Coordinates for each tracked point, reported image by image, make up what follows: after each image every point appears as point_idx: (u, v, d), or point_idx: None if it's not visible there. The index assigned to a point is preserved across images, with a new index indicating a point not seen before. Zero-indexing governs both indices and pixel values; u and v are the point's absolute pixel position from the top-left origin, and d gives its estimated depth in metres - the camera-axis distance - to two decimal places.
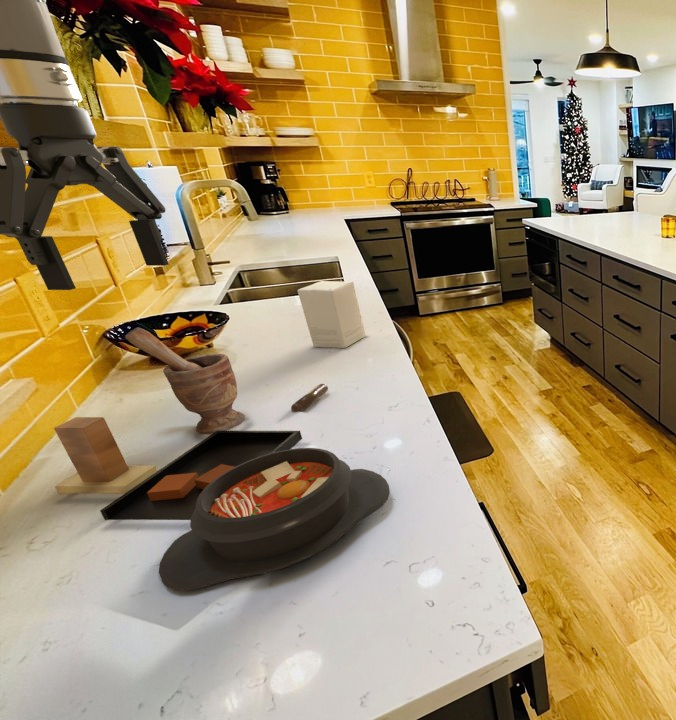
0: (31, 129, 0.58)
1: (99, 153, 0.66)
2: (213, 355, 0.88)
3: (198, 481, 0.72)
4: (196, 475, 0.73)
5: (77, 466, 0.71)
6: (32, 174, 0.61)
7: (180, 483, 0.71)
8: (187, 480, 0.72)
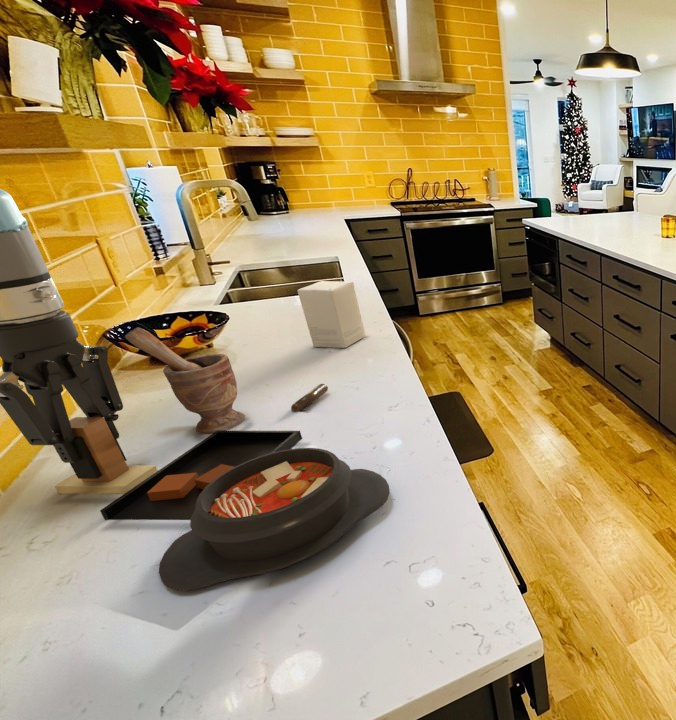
0: (14, 348, 0.61)
1: (82, 348, 0.69)
2: (213, 355, 0.88)
3: (198, 481, 0.72)
4: (196, 475, 0.73)
5: None
6: (28, 385, 0.65)
7: (180, 483, 0.71)
8: (187, 480, 0.72)
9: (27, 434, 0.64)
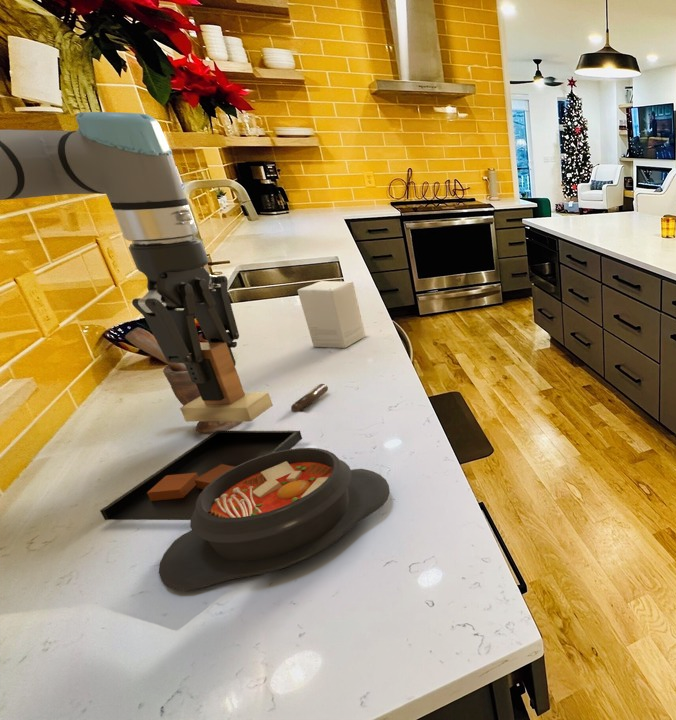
0: (159, 266, 0.65)
1: (208, 276, 0.73)
2: None
3: (198, 481, 0.72)
4: (196, 475, 0.73)
5: None
6: (166, 306, 0.69)
7: (180, 483, 0.71)
8: (187, 480, 0.72)
9: (166, 351, 0.68)
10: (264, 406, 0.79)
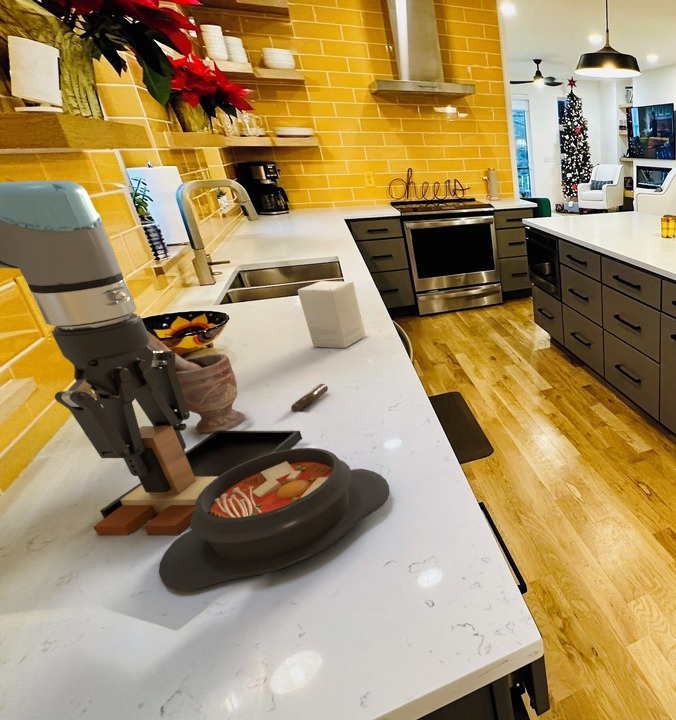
0: (88, 354, 0.57)
1: (151, 354, 0.65)
2: (213, 355, 0.88)
3: (149, 526, 0.63)
4: (151, 508, 0.67)
5: None
6: (99, 394, 0.60)
7: (129, 517, 0.65)
8: (138, 514, 0.65)
9: (99, 446, 0.60)
10: None
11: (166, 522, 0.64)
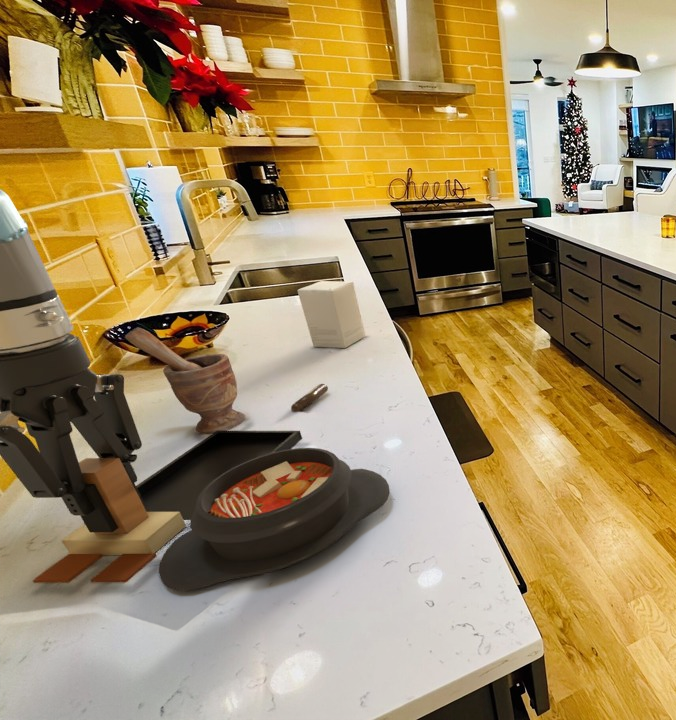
0: (13, 382, 0.50)
1: (94, 378, 0.58)
2: (213, 355, 0.88)
3: (97, 581, 0.57)
4: (100, 557, 0.60)
5: None
6: (30, 425, 0.54)
7: (74, 569, 0.58)
8: (84, 566, 0.59)
9: (30, 485, 0.53)
10: (173, 530, 0.63)
11: (116, 575, 0.57)
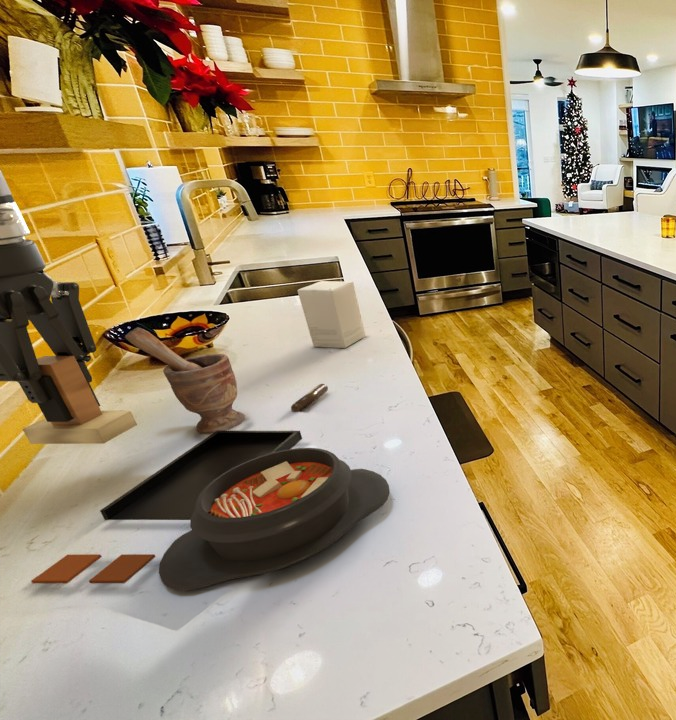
0: None
1: (50, 282, 0.65)
2: (213, 355, 0.88)
3: (96, 581, 0.57)
4: None
5: None
6: None
7: (73, 570, 0.58)
8: (83, 566, 0.59)
9: None
10: (124, 426, 0.71)
11: (115, 576, 0.57)
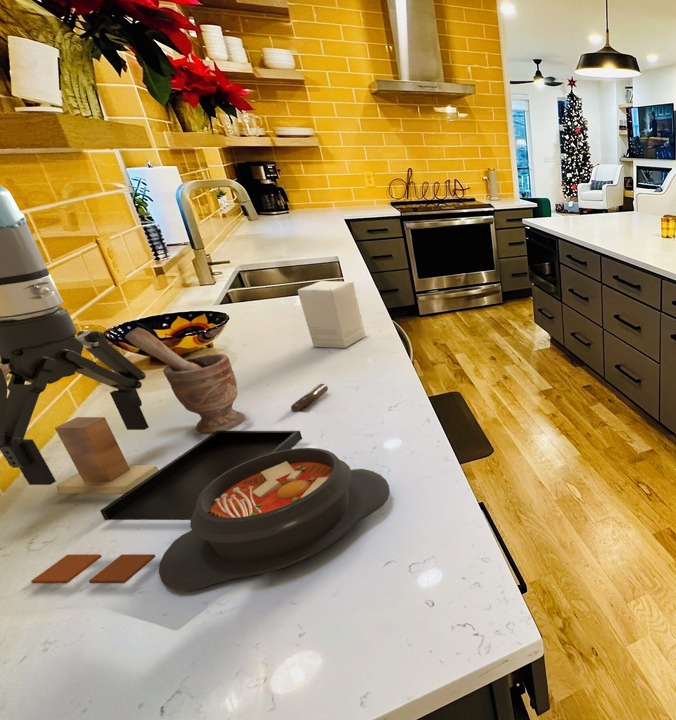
0: (12, 344, 0.61)
1: (79, 343, 0.69)
2: (213, 355, 0.88)
3: (96, 581, 0.57)
4: None
5: (78, 466, 0.71)
6: (13, 380, 0.63)
7: (73, 570, 0.58)
8: (83, 566, 0.59)
9: None
10: None
11: (115, 576, 0.57)
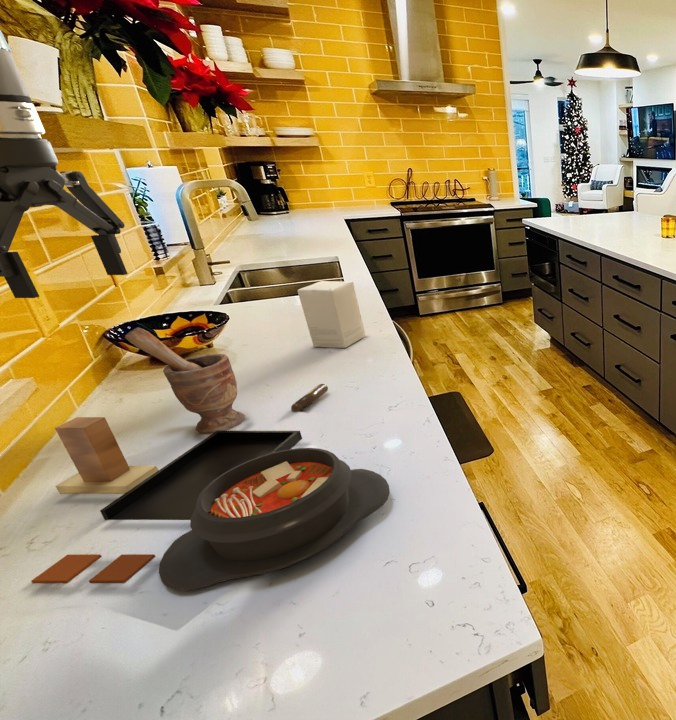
0: None
1: (61, 177, 0.75)
2: (213, 355, 0.88)
3: (96, 581, 0.57)
4: None
5: (78, 466, 0.71)
6: (0, 198, 0.70)
7: (73, 570, 0.58)
8: (83, 566, 0.59)
9: None
10: None
11: (115, 576, 0.57)
